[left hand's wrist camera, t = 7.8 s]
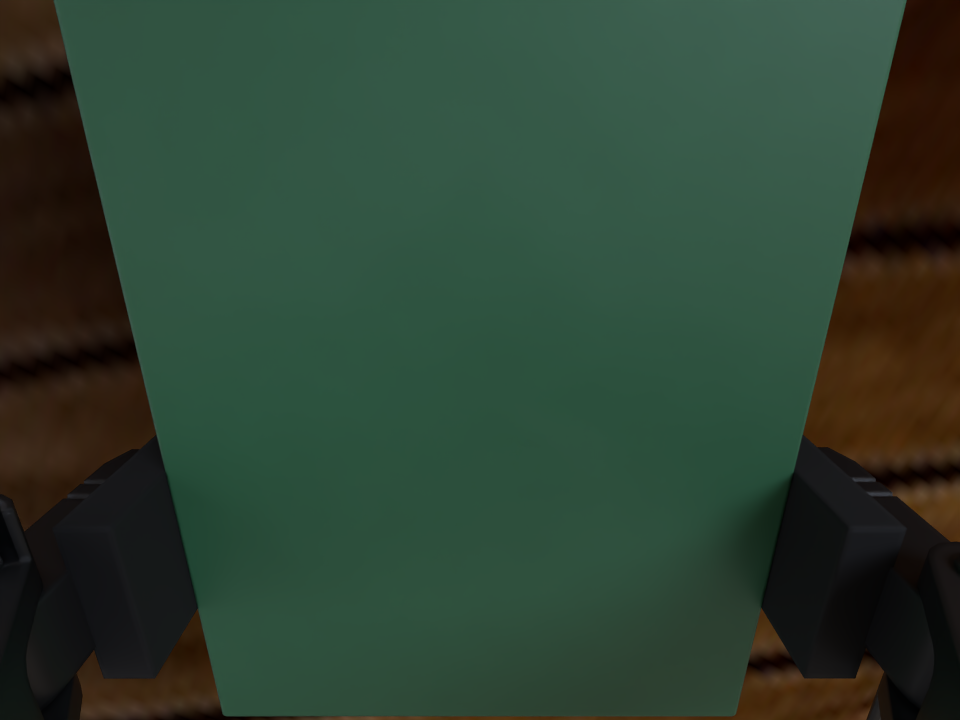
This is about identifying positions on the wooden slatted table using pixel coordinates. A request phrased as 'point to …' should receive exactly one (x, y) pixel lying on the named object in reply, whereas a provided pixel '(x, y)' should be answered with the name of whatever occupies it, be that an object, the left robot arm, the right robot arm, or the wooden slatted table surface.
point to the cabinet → (479, 328)
